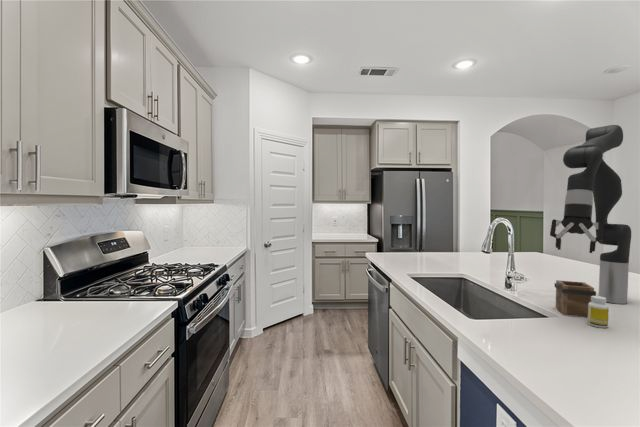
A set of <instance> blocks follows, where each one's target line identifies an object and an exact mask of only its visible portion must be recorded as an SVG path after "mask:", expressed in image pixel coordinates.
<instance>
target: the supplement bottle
mask: <svg viewBox="0 0 640 427" xmlns="http://www.w3.org/2000/svg"><path fill="white" fill-rule="evenodd" d="M591 301H592V302H589V303H588V317H587V324H588V325H590V326H592V327H595V328H601V329H602V328H603V329H605V328H608V326H609V312H610V311H609V304H606V303H607V302H606V298H605V297H601V296H599V295H596V296H591Z"/></svg>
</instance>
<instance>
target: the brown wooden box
mask: <svg viewBox="0 0 640 427" xmlns="http://www.w3.org/2000/svg"><path fill="white" fill-rule="evenodd" d="M554 288H555V308H556V309H557V310H558V311H559V312H560V313H561V314H562V315H564V316H574V317H580V318H581V317H582V318H583V317H584V318H588V303H589V302H592V301H591V296H597V291H595V288H594V287H593V286H592V285H590V284H588V283H586V282H583V281H582V282H581V281H572V280H571V281H569V280H555V282H554Z"/></svg>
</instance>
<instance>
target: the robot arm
mask: <svg viewBox="0 0 640 427" xmlns="http://www.w3.org/2000/svg"><path fill="white" fill-rule="evenodd" d="M623 141H624V131H623V128H622V127H621V126H620V125H619V124H610V125H609V124H608V125H604V126H599V127H598V126H597V127H593V128H589V129H588V130H586V132H585V142H584V143H582V144H580V145H576V146H573V147H570V148H568V149H567V150H566V151H565V152H564V154H563V158H562V162H563V165H564V166H565V167H566V168H569V169H584V170H582V171H580V172H578V173H573V174H571V175H569V176H568V178H567V188H566V194H565V199H564V211H563V218H562V220H561V219H560V220H559V219H552V220H551V224H550V225H551V226H550V232H549V235H550V237H552V238H554V239H555V248H556V249H557V250H558V251H561V248H562V238H563V236H565V235H566V234H567V233H569V234H577V235H578V234H579V235H583V234H585V236H587V237H588V239H589V241H590V242H589V252H588V253H589V254H593V253H594V252H595V251H596V244H597V243H599V244H600V245H606V246H617V247H616V249H615V250H612V251H608V252H607V251H606V252H603V253H600V254H599V274H598V275H599V278H598V279H599V280H598V296H601V297H605V298H606V303H609V304H611V303H612V304H617V305H625V304H628V295H629V294H628V292H629V291H628V290H629V271H630V270H629V267H630V250H631V242H632V241H631V240H632V229H631V226H630V225H628V224H621V223H608V218H609V215H610V212H612V209H613V208H614V207H615V206H616V205H617V204H618V203H619V201H620V199H621V198H622V195H623V187H622V186H623V185H622V178H621V177H620V175H619V174H618V173H617V172H616V171H615V170H614V169H613V168H611V167H610V166H609V165H608V164H607V162H605V161H604V159H603V158H604V157H603V156H604V154H605V153H606V152H608V151H611V150H613V149H616V148H618V147H620V146H621V145H622V144H623ZM593 205H594V210H595V211H594V213H595V222H593V221H592V217H593V216H592V215H593ZM560 225H562V227H563V229H562V230H561V231H559V233H556V231H557V227H559V226H560ZM592 227H594V228H595V236H594V235H593V234H592V233H591V232H590V229H591V228H592Z"/></svg>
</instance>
